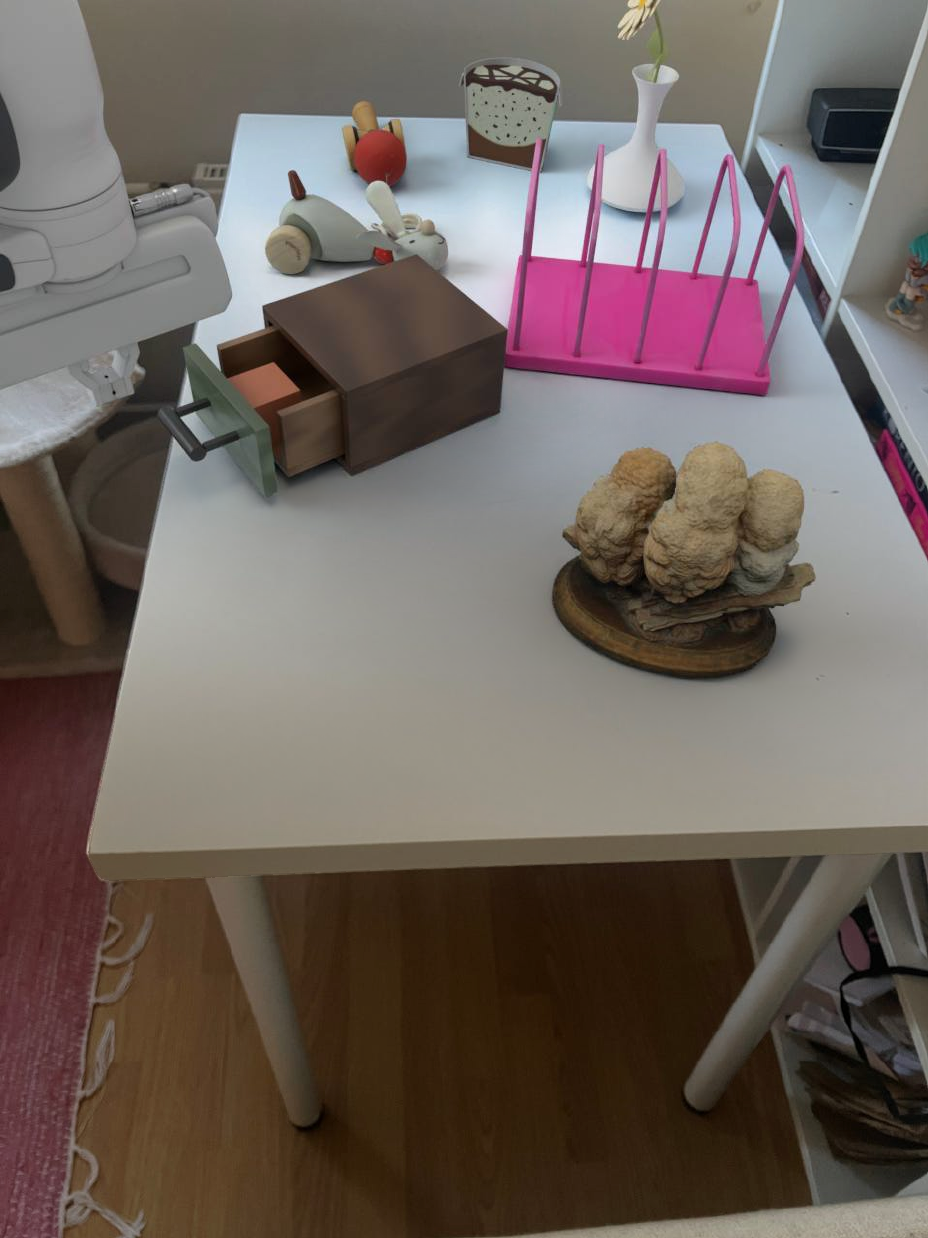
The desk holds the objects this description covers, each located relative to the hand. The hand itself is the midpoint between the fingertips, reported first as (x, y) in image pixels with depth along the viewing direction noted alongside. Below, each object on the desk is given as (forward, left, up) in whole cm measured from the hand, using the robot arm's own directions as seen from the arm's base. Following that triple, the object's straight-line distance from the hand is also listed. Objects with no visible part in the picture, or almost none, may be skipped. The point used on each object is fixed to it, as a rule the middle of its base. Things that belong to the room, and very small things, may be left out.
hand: (112, 396), depth 74 cm
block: (+10, +6, -8) cm, 14 cm away
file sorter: (+45, +24, -11) cm, 52 cm away
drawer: (+11, +7, -9) cm, 16 cm away
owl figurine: (+41, -14, -11) cm, 45 cm away
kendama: (+19, +58, -11) cm, 62 cm away
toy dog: (+17, +37, -11) cm, 42 cm away
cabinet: (+20, +12, -10) cm, 26 cm away
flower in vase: (+49, +49, -11) cm, 71 cm away
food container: (+36, +60, -11) cm, 71 cm away
